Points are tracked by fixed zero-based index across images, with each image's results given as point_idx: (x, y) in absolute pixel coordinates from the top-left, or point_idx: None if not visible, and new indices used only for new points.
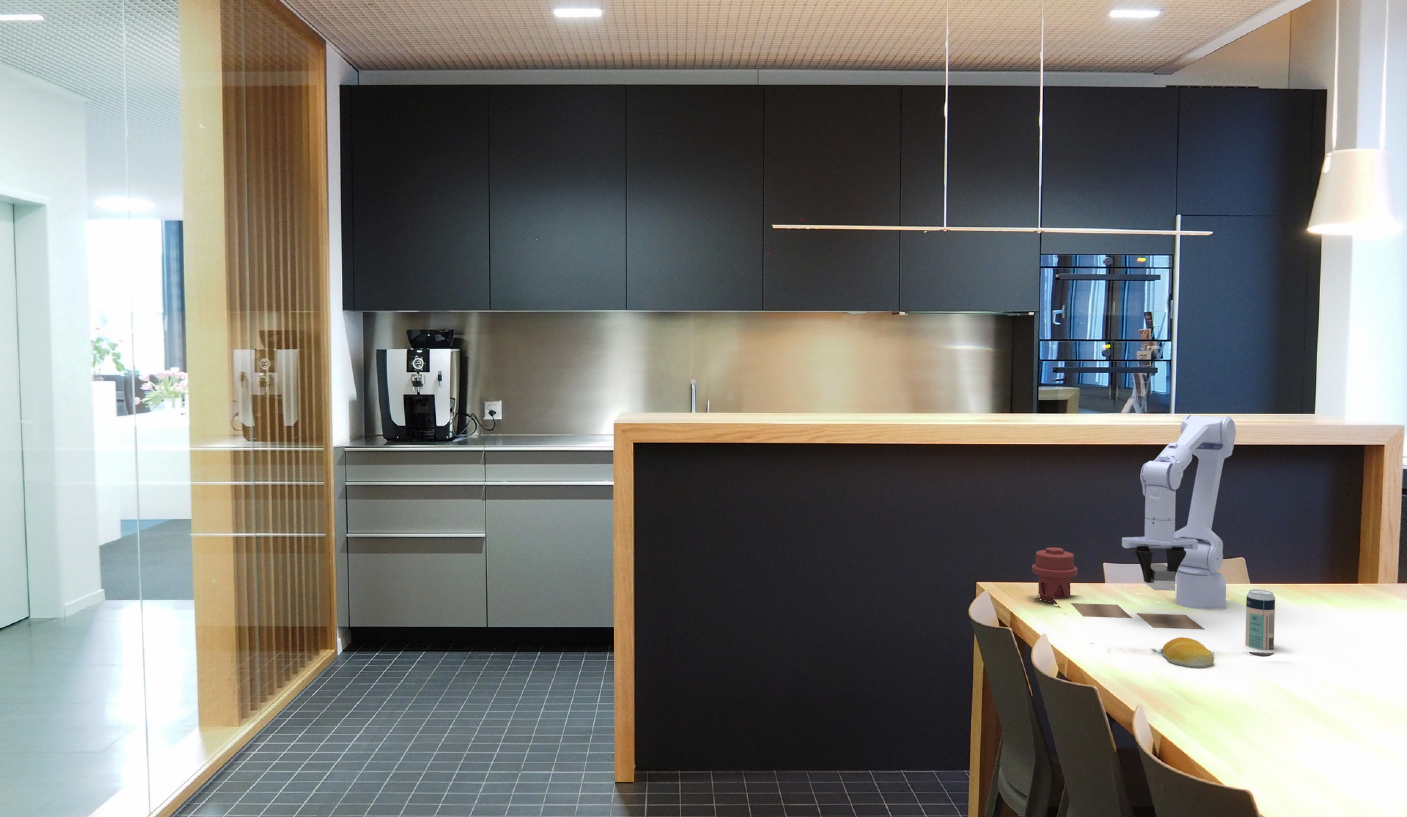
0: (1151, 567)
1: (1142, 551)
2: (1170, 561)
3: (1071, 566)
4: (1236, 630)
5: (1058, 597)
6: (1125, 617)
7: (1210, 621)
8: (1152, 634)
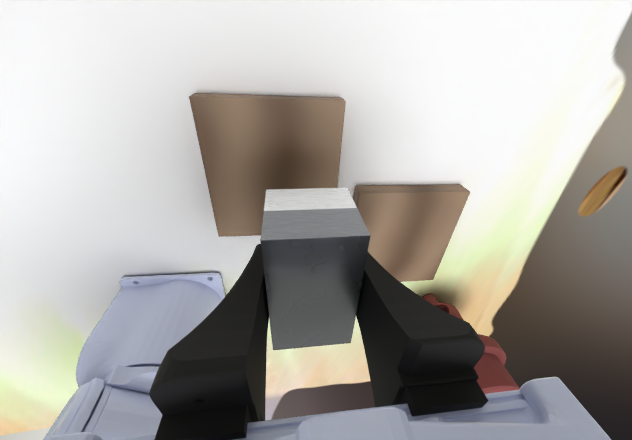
0: (349, 298)
1: (467, 353)
2: (261, 333)
3: None
4: (100, 170)
5: (437, 303)
6: (375, 194)
7: (162, 237)
8: None
